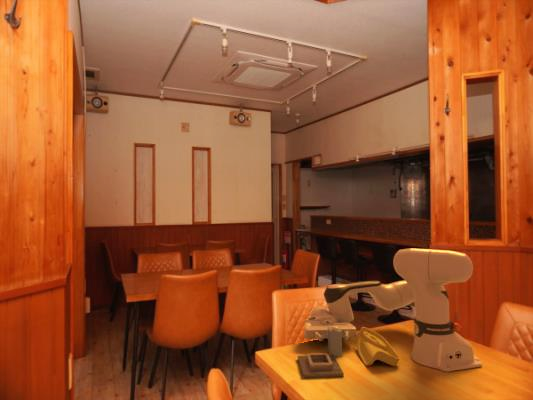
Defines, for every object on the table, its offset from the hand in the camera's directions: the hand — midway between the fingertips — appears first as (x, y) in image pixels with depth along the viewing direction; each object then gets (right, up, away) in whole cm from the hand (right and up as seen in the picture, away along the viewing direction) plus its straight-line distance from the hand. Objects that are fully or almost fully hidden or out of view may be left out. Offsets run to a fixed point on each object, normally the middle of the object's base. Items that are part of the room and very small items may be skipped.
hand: (334, 338), depth 136 cm
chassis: (-7, -5, -12) cm, 15 cm away
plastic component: (+15, -6, -3) cm, 16 cm away
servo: (0, -5, -1) cm, 5 cm away
